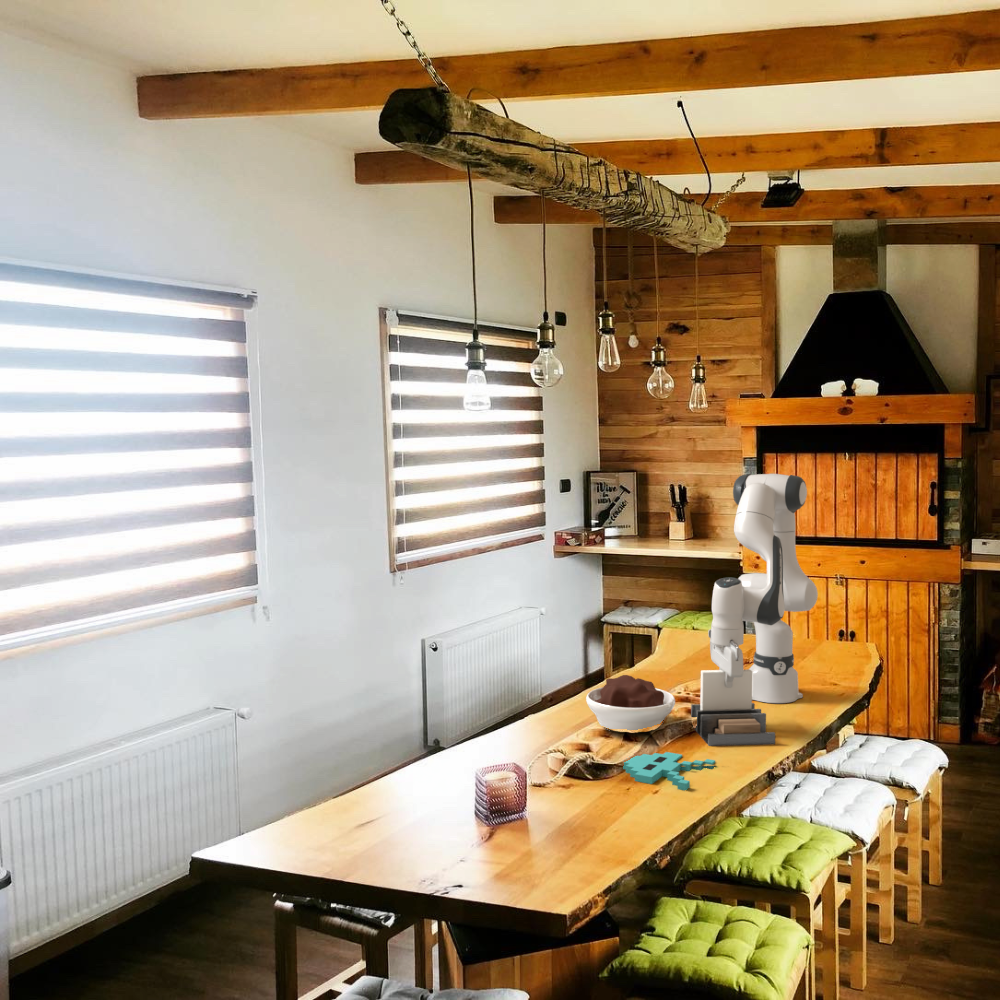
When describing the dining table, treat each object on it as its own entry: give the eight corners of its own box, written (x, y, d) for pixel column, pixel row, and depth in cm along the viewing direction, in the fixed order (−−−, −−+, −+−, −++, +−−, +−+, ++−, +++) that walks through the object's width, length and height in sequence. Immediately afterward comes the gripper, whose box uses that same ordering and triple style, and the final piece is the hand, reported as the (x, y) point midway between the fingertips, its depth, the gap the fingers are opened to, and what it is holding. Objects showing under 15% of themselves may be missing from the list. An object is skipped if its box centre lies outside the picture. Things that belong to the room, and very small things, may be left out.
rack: (690, 729, 312) (691, 704, 312) (753, 727, 314) (753, 702, 313) (708, 750, 293) (709, 723, 293) (774, 748, 295) (775, 722, 294)
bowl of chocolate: (691, 727, 314) (691, 675, 313) (644, 748, 295) (645, 693, 294) (617, 711, 330) (617, 662, 329) (568, 731, 311) (568, 678, 309)
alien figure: (715, 768, 280) (642, 756, 290) (715, 760, 280) (642, 747, 290) (686, 792, 263) (610, 778, 273) (686, 783, 263) (610, 769, 273)
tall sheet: (700, 722, 310) (700, 670, 309) (748, 721, 311) (749, 669, 310) (702, 725, 308) (703, 672, 306) (751, 724, 309) (752, 671, 307)
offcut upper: (718, 728, 300) (718, 719, 300) (754, 727, 301) (754, 718, 301) (723, 734, 295) (723, 725, 295) (760, 733, 296) (760, 724, 296)
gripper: (749, 644, 297) (748, 694, 298) (728, 629, 317) (727, 676, 319) (726, 645, 296) (725, 695, 298) (706, 629, 317) (705, 676, 318)
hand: (726, 685), depth 308 cm, fingers closed on tall sheet, 2 cm apart
